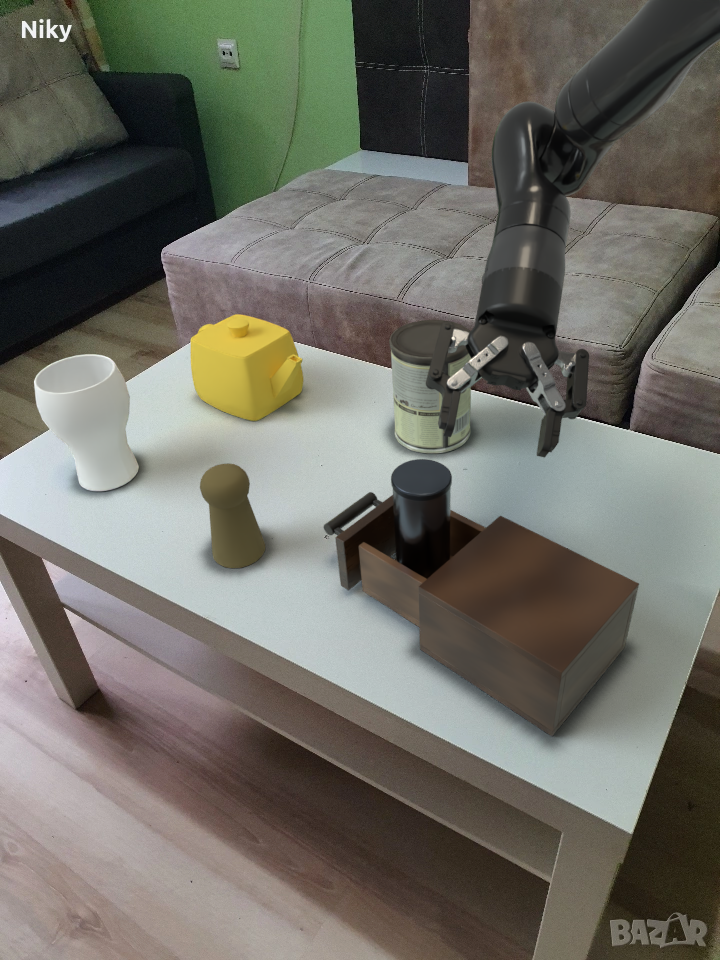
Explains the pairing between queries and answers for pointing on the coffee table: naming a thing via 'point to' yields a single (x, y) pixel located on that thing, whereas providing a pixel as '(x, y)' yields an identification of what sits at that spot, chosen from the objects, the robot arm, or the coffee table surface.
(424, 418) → the coffee can
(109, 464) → the cup
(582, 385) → the robot arm
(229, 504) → the pepper shaker
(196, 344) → the teapot
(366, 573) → the drawer
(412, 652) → the coffee table surface
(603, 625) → the cabinet
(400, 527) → the slate tube
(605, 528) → the coffee table surface
